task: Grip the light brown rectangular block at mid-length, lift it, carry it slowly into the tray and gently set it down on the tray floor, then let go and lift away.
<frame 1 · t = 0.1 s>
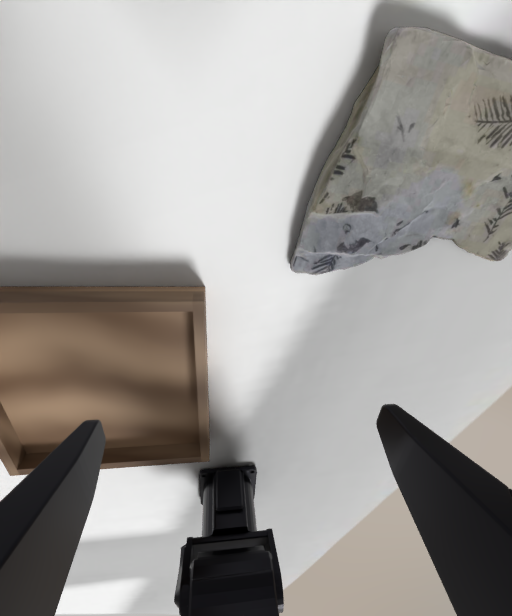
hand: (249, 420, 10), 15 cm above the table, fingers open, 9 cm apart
tray: (103, 379, 26), on the table
fossil rock: (425, 182, 22), on the table
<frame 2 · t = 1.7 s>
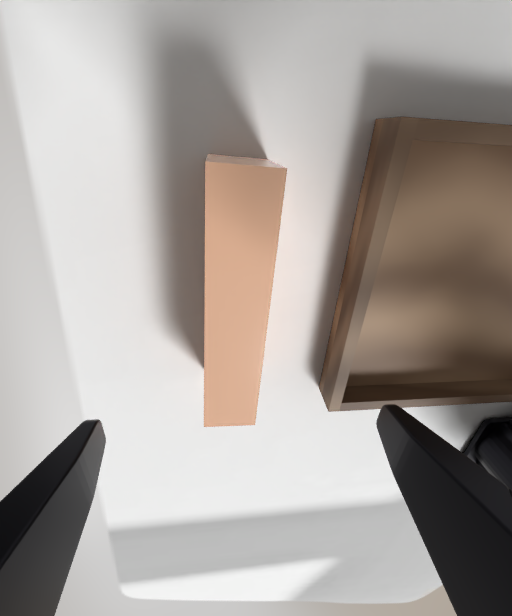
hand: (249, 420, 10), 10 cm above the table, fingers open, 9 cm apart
tray: (467, 284, 21), on the table
light brown rectangular block: (231, 282, 19), on the table
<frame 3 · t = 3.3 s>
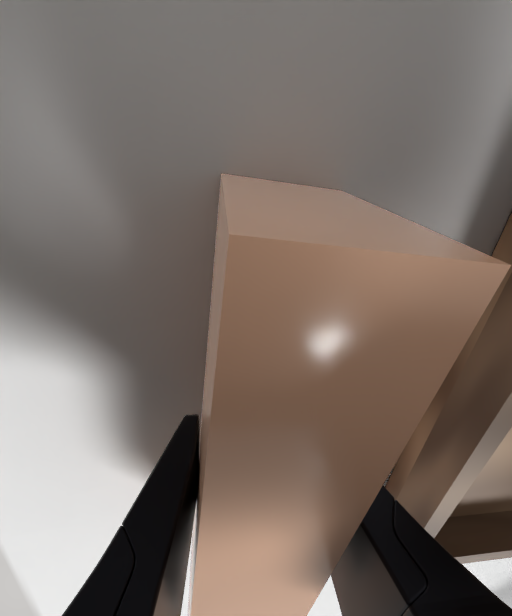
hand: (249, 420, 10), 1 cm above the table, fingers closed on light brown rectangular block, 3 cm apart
light brown rectangular block: (246, 394, 11), on the table, touching gripper
when the fingers open (3 cm above the table, at t = 8.3 s): light brown rectangular block drops 1 cm, resting on tray.
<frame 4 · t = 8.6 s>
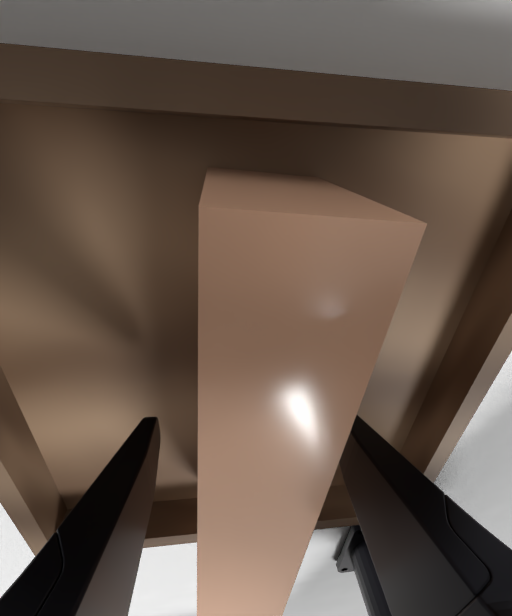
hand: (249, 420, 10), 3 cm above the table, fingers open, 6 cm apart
tray: (241, 359, 12), on the table
light brown rectangular block: (244, 371, 12), point 1 cm above the table, touching tray
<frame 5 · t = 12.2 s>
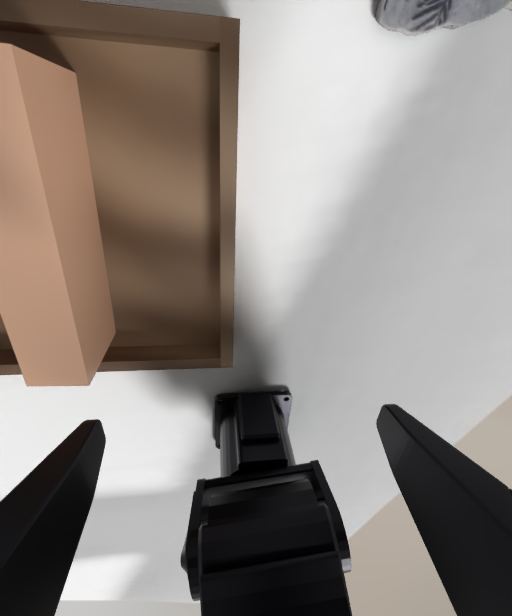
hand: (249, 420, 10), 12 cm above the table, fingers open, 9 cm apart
tray: (76, 224, 17), on the table
light brown rectangular block: (71, 226, 17), point 1 cm above the table, touching tray
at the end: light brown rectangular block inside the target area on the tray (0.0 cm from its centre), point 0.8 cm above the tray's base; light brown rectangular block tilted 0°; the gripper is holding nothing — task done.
